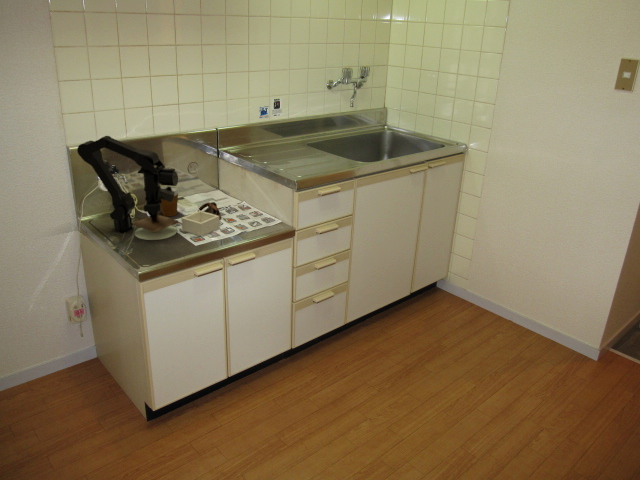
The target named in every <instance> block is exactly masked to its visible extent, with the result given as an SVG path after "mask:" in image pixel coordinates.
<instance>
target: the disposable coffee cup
mask: <svg viewBox="0 0 640 480" xmlns="http://www.w3.org/2000/svg"><path fill="white" fill-rule="evenodd" d="M167 187H168V185H166V186H161V188H162V189H164V188H167ZM169 187H171V188H172V191H174V192H175V193H174V198H173V201H172V202H169V201H167V200H164V199H161V200H162V202H161V214H162V215H161V216H165V217H172V216H173V217H175V216H176V215H177V214H178V203H179V202H178V199H179V193H180V191H179V189H178V187H176V186H169Z"/></svg>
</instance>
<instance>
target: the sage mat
mask: <svg viewBox="0 0 640 480" xmlns="http://www.w3.org/2000/svg"><path fill="white" fill-rule="evenodd" d="M177 232H178V229H177V228H176V227H175V226H174V225H171V226H169V227H166V228H164V229H161V230H159V231H156V232H152V231H149V230H146V229H143V228H140V227H138V228H137V229H136V230H135V231H134V235H135V237H137V238H138V239H140V240H141V239H142V240H147V241H148V240H149V241H156V240H164V239H168V238H171V237H173V236H175V235H176V233H177Z"/></svg>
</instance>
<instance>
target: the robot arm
mask: <svg viewBox="0 0 640 480" xmlns="http://www.w3.org/2000/svg"><path fill="white" fill-rule="evenodd" d="M102 149H107V150H108V151H111V152H114V153H116V154H118V155H121V156H123V157H126V158H127V159H131V160H132V161H133V162H135V164H136V165H138V166H139V167H141V168H140V169H139V170H138V171H137V174H142V175H143V186H144V188H143V190H144V194H145V195H144V196H145V198H144V201H146V202H145V203H144V204H143V211H144V212H145V213H148V215H149V217H151V218H152V220H153V222H156V220H157V211H158V212H160V211H161V212H162V210H161V202H162V200H161V199H164V200H167V201H169V202H172V201H173V198H174V193H175V192H174V191H172V188H171V187H176V186H178V185H177V184H178V181H179V175H178V173H177V171H176V168H166V166H165V164H164V163H163V162H162V160H161V159H160V157H159V156H158V153H156V152H154V151H151V150H147V149H140V148H139V149H138V148H136V147H133V146H132V145H129V144H128V143H125V142H121V141H119V140H117V139H115V138H112V136H110V135H104V136H102V137H101V138H99V139H97V140H95V141H94V140H88V141H86V142H82V143H80V144H79V145H78V146H77V150H76V151H77V154H78V155H79V157H80V158H81V159H82V161H84V162H85V163H86V164H88V165H90V166H91V167H92V169H93V170H94V172H95V174H96V176H98V178H99V180H100V181H101V183H102V184H103V186H104V187H105V189H106V190H107V193H109V195H110V198H111V202H112V206H113V209H114V210H113V211H112V212H111V213H110V214H109V217H110V218H111V220H113V228H112V231H113V232H117V233H120V234H124V233H126V232H130V231H132V230H134V229H135V227H133V225H132V223H133V220H132V216H131V214H132V212H133V210H134V209H135V208H136V202H135V201H136V199H135V198H133V196H132V194H131V192H129V191H128V192H124V191H123V189H122V188H121V186H120V184H119V183H118V181H116V179H115V177H114V176H113V174H112V173H111V171H110V170H109V168H108V166H107V164H106V163H105V161H104V160H103V152H102ZM162 186H166V187H167V186H168V187H167V188H164V189H162V188H161V187H162ZM169 186H171V187H169Z"/></svg>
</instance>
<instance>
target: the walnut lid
mask: <svg viewBox="0 0 640 480" xmlns="http://www.w3.org/2000/svg"><path fill="white" fill-rule="evenodd" d="M178 223H179V220H176V219H174V218H170V217H169V216H164V215H161V214H159V211H157V220H156V222H153V220H152V218H151V217H150V216H147V217H145V218H142V219H139V220H137V221H133V222H132V226H134V227H138V228H143V229H146V230H149V231H152V232H156V231H159V230H161V229H164V228H166V227H169V226H171V225H172V226H174V225H175V224H178Z"/></svg>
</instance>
